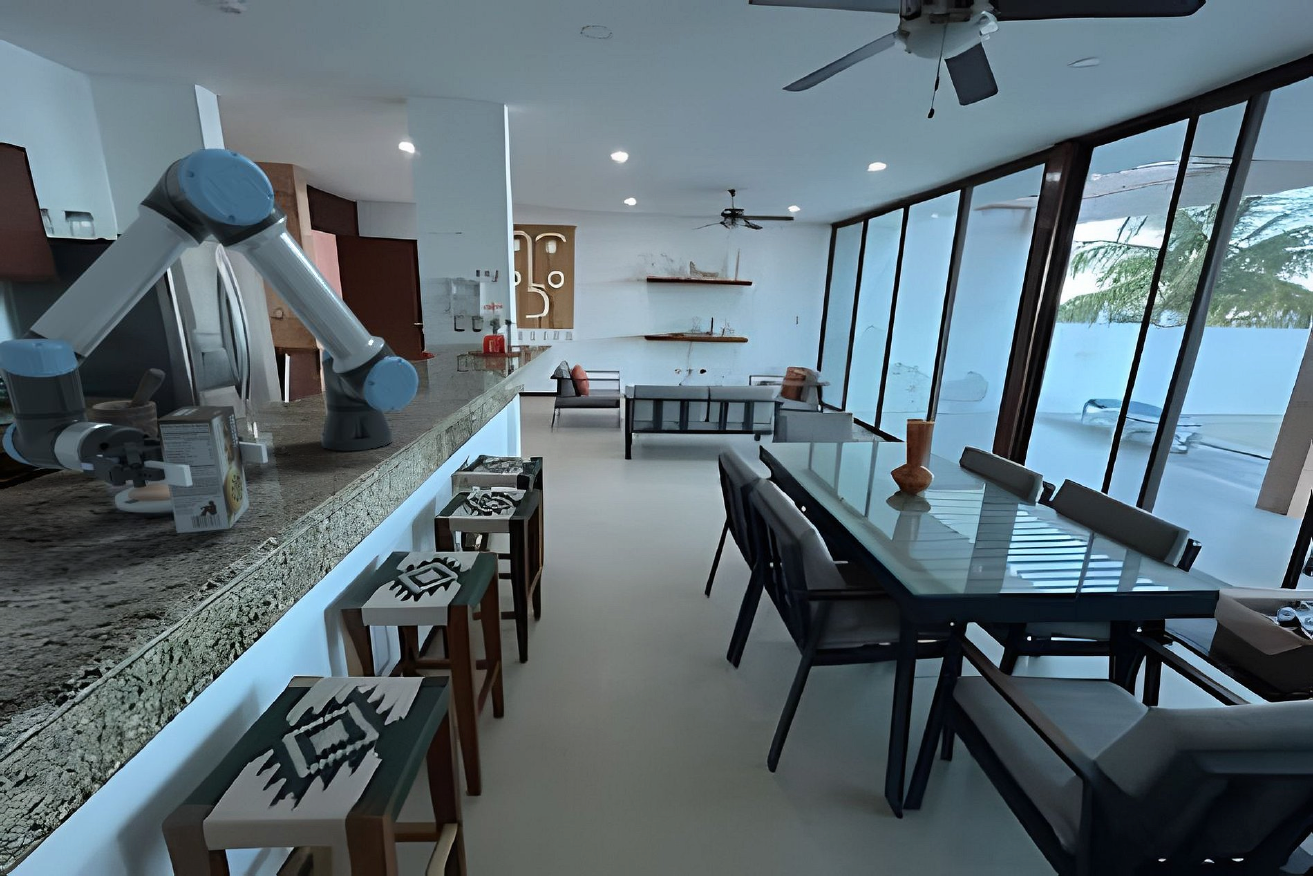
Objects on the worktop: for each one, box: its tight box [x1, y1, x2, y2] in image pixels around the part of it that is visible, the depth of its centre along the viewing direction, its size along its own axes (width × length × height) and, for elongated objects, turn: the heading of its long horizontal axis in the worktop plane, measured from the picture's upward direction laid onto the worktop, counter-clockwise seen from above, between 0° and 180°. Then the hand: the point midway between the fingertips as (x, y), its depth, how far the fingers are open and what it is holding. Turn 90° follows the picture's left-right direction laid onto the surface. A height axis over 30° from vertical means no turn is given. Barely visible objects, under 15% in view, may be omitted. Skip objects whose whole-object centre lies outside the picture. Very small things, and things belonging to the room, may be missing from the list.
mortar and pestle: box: [91, 367, 166, 438], centre depth 104 cm, size 12×9×20 cm
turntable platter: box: [114, 482, 173, 513], centre depth 90 cm, size 14×14×1 cm
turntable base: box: [135, 510, 174, 519], centre depth 90 cm, size 10×10×2 cm
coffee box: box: [156, 405, 250, 534], centre depth 79 cm, size 9×6×16 cm
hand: (229, 464), depth 78 cm, fingers closed on coffee box, 11 cm apart
